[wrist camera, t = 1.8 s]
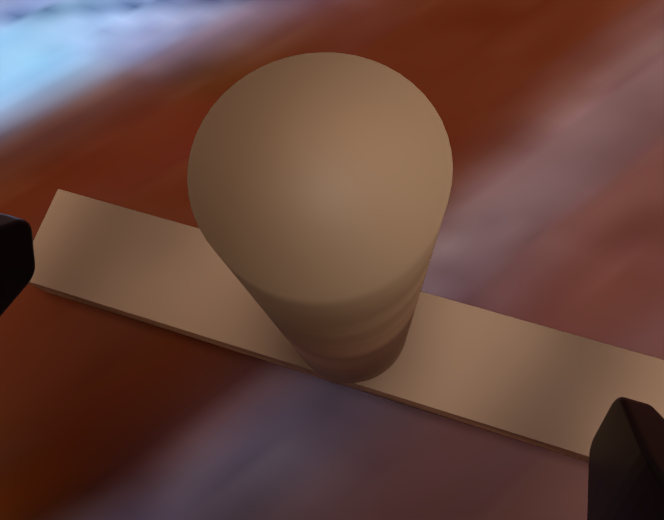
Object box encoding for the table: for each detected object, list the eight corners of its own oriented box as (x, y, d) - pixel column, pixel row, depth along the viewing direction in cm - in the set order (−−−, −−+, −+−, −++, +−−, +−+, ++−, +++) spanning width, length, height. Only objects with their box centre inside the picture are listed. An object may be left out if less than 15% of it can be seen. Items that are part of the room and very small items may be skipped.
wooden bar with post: (693, 383, 18) (1295, 267, 6) (677, 494, 17) (1341, 602, 5) (88, 210, 21) (-270, -86, 9) (49, 296, 20) (-402, 90, 8)
